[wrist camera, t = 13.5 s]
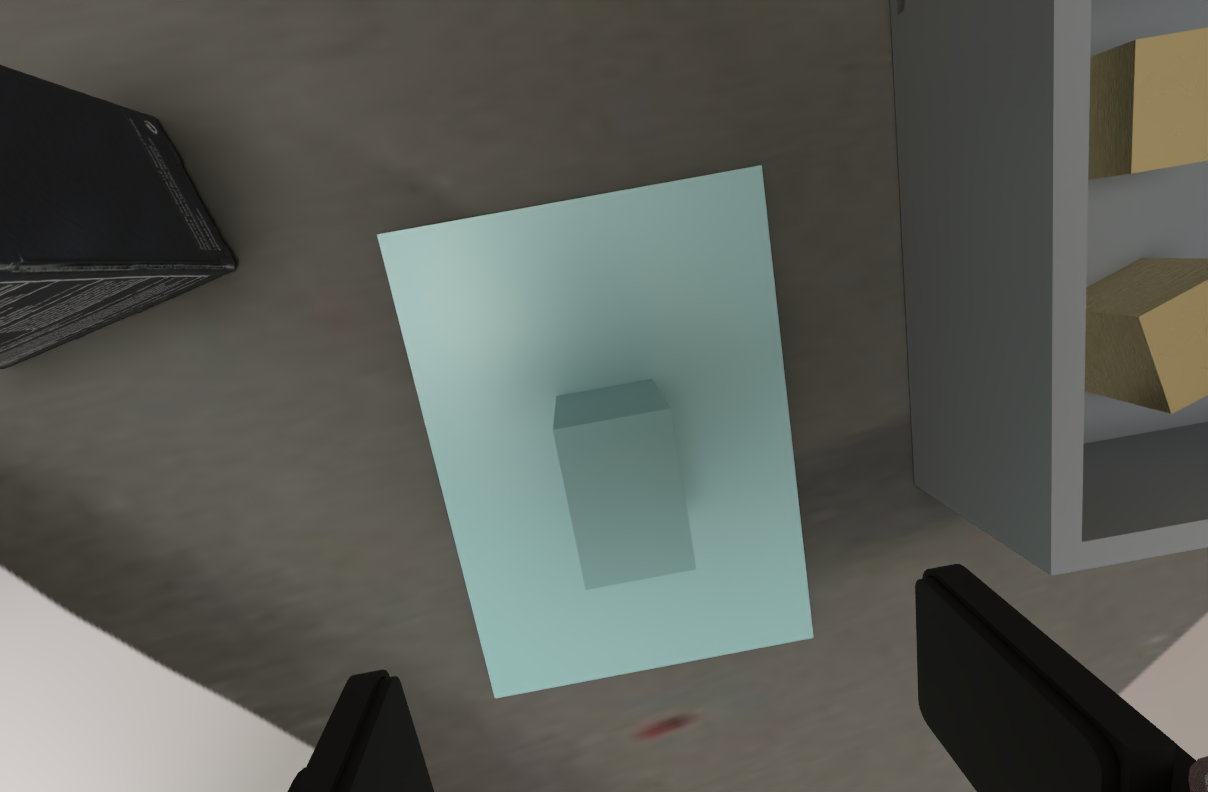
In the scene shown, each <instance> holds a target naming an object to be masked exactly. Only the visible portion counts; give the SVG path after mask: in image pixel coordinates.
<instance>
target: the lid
mask: <svg viewBox="0 0 1208 792" xmlns="http://www.w3.org/2000/svg"><path fill="white" fill-rule="evenodd" d="M377 237H378V241H379V245H380V249H381V253H382V257H383V261H384V264H385V268H386V272H387V276H388V280H389V284H390V288H391V292H392V296H393V300H394V304H395V308H396V312H397V316H398V319H399V323H400V327H401V331H402V335H403V339H404V343H405V347H406V351H407V355H408V359H409V363H410V367H411V371H412V374H413V378H414V382H415V386H416V390H417V394H418V398H419V402H420V406H421V410H422V414H423V418H424V422H425V426H426V429H427V433H428V437H429V441H430V445H431V449H432V453H433V457H434V461H435V465H436V469H437V473H438V477H439V481H440V484H441V488H442V492H443V496H444V500H445V504H446V508H447V512H448V516H449V520H450V524H451V528H452V532H453V536H454V539H455V543H456V547H457V551H458V555H459V559H460V563H461V567H462V571H463V575H464V579H465V583H466V587H467V591H468V594H469V598H470V602H471V606H472V610H473V614H474V618H475V622H476V626H477V630H478V634H479V638H480V642H481V646H482V649H483V653H484V657H485V661H486V665H487V669H488V673H489V677H490V681H491V685H492V689H493V693H494V697H495V698H500V697H505V696H511V695H516V694H521V693H526V692H532V691H537V690H542V689H547V688H553V687H558V686H563V685H568V684H574V683H579V682H584V681H589V680H595V679H600V678H605V677H610V676H616V675H621V674H626V673H631V672H637V671H642V670H647V669H652V668H657V667H663V666H668V665H673V664H678V663H684V662H689V661H694V660H699V659H705V658H710V657H715V656H720V655H726V654H731V653H736V652H741V651H747V650H752V649H757V648H762V647H768V646H773V645H778V644H783V643H789V642H794V641H799V640H804V639H810V638H813V629H812V620H811V610H810V601H809V592H808V583H807V574H806V565H805V556H804V547H803V538H802V528H801V519H800V510H799V501H798V492H797V483H796V474H795V465H794V456H793V446H792V437H791V428H790V419H789V410H788V401H787V392H786V383H785V374H784V364H783V355H782V346H781V337H780V328H779V319H778V310H777V301H776V292H775V282H774V273H773V264H772V255H771V246H770V237H769V228H768V219H767V210H766V200H765V191H764V182H763V173H762V165H760V166H754V167H749V168H743V169H738V170H732V171H727V172H721V173H715V174H710V175H704V176H699V177H693V178H688V179H682V180H677V181H671V182H666V183H660V184H655V185H649V186H643V187H638V188H632V189H627V190H621V191H616V192H610V193H605V194H599V195H594V196H588V197H582V198H577V199H571V200H566V201H560V202H555V203H549V204H544V205H538V206H533V207H527V208H521V209H516V210H510V211H505V212H499V213H494V214H488V215H483V216H477V217H472V218H466V219H460V220H455V221H449V222H444V223H438V224H433V225H427V226H422V227H416V228H411V229H405V230H399V231H394V232H388V233H383V234H377Z"/></svg>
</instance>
